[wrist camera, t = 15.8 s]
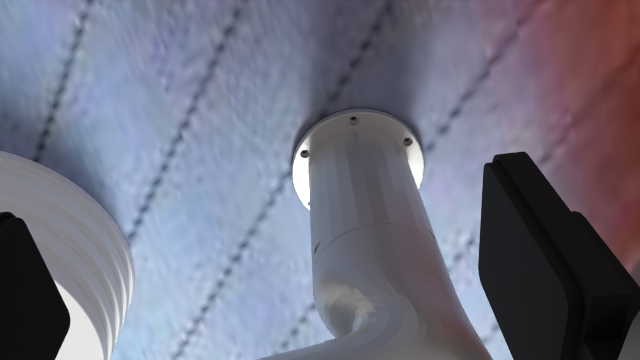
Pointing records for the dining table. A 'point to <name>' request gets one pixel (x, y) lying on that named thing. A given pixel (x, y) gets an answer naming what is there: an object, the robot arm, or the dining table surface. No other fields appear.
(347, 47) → the dining table surface
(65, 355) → the plate stack
